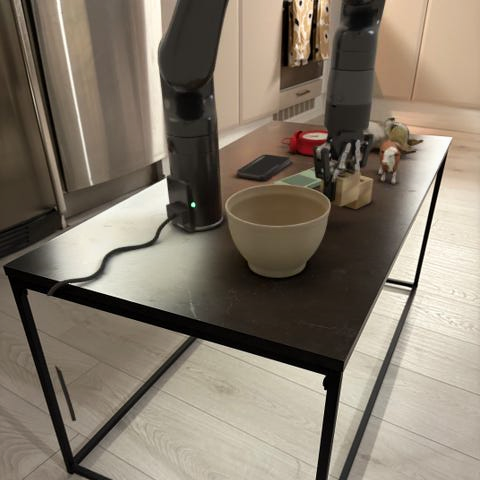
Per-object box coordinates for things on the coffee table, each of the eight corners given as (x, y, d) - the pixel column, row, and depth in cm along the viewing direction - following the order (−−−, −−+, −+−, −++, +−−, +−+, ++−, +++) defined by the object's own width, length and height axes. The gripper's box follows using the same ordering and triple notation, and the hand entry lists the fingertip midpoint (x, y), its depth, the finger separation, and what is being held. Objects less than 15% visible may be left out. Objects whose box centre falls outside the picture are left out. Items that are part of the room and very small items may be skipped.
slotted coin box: (355, 209, 101) (358, 184, 98) (335, 202, 104) (338, 178, 101) (370, 202, 104) (373, 177, 101) (350, 196, 107) (353, 172, 104)
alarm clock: (338, 143, 126) (281, 126, 127) (331, 167, 129) (276, 150, 131) (344, 132, 134) (290, 116, 136) (336, 155, 138) (285, 139, 139)
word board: (295, 195, 108) (295, 190, 108) (272, 187, 113) (272, 182, 112) (352, 171, 119) (352, 167, 119) (329, 165, 124) (329, 161, 123)
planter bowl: (208, 266, 84) (203, 204, 78) (273, 234, 93) (274, 177, 87) (280, 302, 74) (281, 235, 68) (345, 263, 83) (352, 200, 77)
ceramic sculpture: (371, 108, 133) (429, 117, 127) (365, 141, 138) (421, 151, 132) (359, 118, 125) (421, 128, 120) (354, 153, 130) (412, 163, 125)
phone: (234, 172, 118) (264, 153, 129) (235, 176, 119) (264, 158, 129) (264, 176, 115) (292, 157, 125) (264, 181, 115) (292, 162, 126)
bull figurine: (375, 188, 110) (380, 151, 105) (377, 168, 121) (381, 133, 116) (396, 189, 109) (402, 151, 105) (396, 169, 120) (401, 134, 115)
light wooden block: (340, 206, 90) (343, 178, 87) (319, 199, 93) (321, 171, 90) (357, 199, 93) (361, 171, 90) (336, 192, 96) (339, 165, 93)
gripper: (357, 88, 89) (347, 182, 99) (302, 100, 81) (296, 201, 91) (393, 94, 84) (378, 192, 94) (339, 108, 77) (328, 213, 87)
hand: (338, 196), depth 93 cm, fingers closed on light wooden block, 5 cm apart
